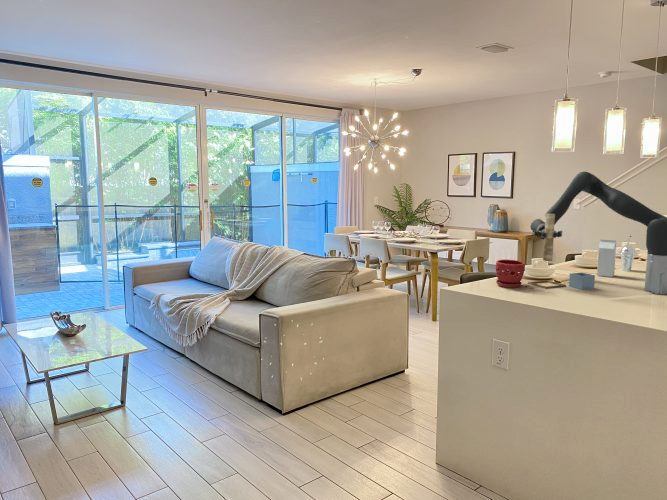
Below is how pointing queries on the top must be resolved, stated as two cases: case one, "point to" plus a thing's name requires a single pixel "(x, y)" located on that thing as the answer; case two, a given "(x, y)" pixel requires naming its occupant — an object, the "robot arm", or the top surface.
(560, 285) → the walnut tray
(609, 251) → the milk carton
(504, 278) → the plant pot
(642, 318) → the top surface
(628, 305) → the top surface
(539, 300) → the top surface
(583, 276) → the blue cube
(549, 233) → the oak dowel
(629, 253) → the cup with straw
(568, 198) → the robot arm
